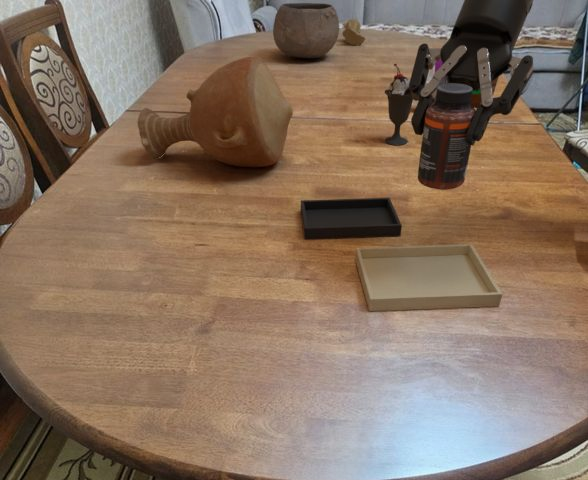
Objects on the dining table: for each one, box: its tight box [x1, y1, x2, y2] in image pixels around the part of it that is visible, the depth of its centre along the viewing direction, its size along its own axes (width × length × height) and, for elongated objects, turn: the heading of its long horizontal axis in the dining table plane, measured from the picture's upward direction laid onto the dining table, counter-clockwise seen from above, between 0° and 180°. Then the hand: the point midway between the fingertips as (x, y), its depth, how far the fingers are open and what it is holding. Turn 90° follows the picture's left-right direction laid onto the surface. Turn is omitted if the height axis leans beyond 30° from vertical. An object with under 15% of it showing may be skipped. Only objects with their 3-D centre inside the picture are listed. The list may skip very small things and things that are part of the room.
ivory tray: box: [354, 243, 503, 312], centre depth 75 cm, size 17×13×2 cm
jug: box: [137, 56, 294, 168], centre depth 104 cm, size 20×19×30 cm
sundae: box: [384, 63, 413, 146], centre depth 113 cm, size 7×7×15 cm
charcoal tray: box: [300, 197, 403, 240], centre depth 88 cm, size 15×10×2 cm, turn 93°
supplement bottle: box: [417, 83, 476, 191], centre depth 66 cm, size 6×6×11 cm
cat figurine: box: [342, 18, 366, 46], centre depth 193 cm, size 8×7×12 cm
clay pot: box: [272, 2, 340, 59], centre depth 173 cm, size 21×21×15 cm
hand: (443, 136), depth 65 cm, fingers closed on supplement bottle, 6 cm apart
